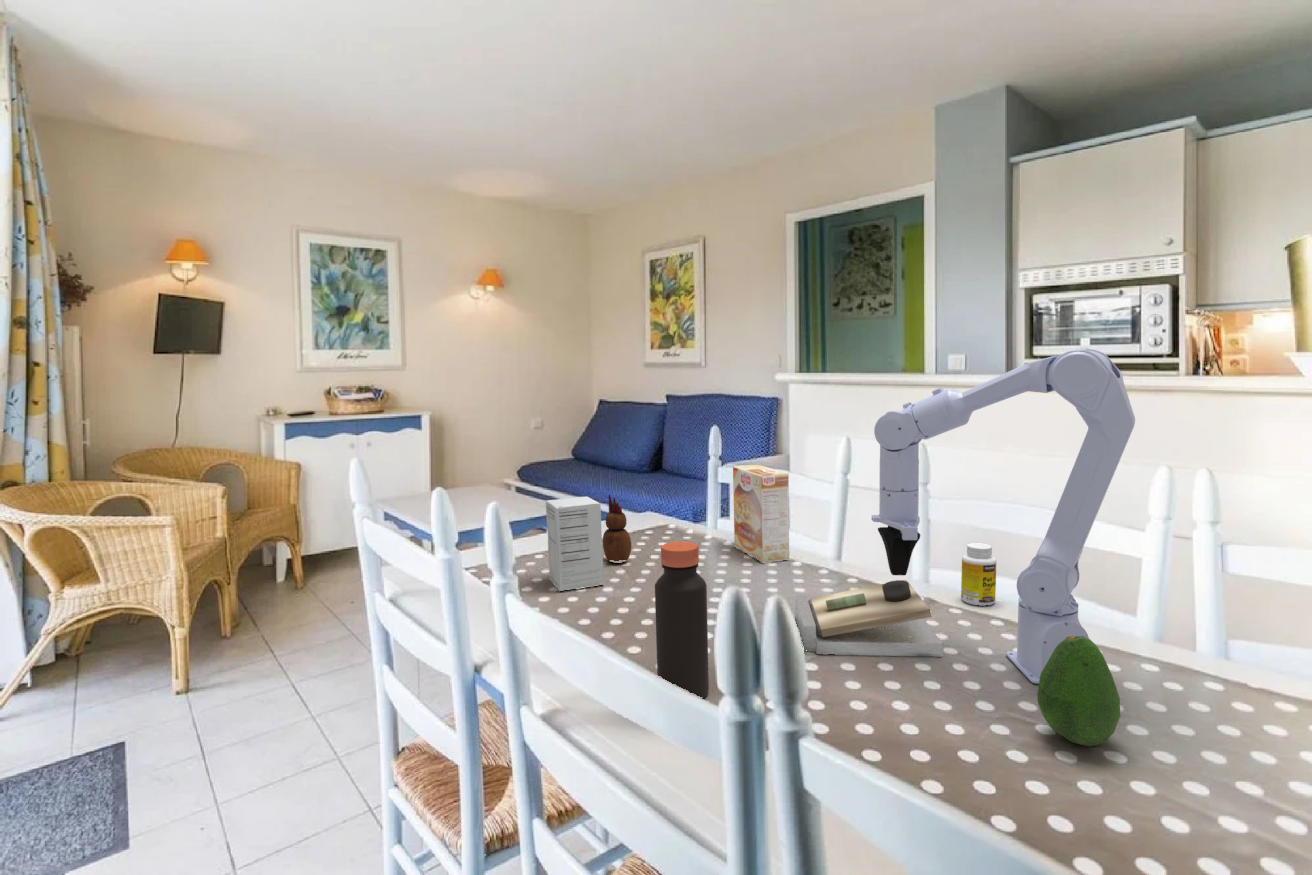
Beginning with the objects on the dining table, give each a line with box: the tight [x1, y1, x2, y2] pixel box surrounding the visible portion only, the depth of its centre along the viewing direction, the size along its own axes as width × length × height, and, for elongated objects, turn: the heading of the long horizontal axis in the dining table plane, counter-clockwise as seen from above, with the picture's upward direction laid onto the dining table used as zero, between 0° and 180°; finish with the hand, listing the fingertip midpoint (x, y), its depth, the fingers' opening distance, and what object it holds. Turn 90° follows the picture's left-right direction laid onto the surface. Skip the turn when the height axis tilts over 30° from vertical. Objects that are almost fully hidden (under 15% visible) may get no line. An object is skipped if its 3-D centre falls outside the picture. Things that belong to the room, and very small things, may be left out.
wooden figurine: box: [602, 494, 632, 561], centre depth 154 cm, size 7×6×15 cm
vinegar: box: [654, 541, 710, 699], centre depth 91 cm, size 7×7×20 cm
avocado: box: [1036, 636, 1121, 747], centre depth 78 cm, size 8×8×12 cm
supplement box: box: [545, 496, 605, 591], centre depth 140 cm, size 10×9×17 cm
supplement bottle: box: [960, 542, 997, 607], centre depth 123 cm, size 6×6×10 cm
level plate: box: [808, 579, 932, 637], centre depth 109 cm, size 14×17×3 cm
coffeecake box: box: [732, 464, 790, 563], centre depth 157 cm, size 15×7×20 cm, turn 17°
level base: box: [794, 594, 944, 658], centre depth 110 cm, size 16×20×4 cm
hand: (898, 574), depth 108 cm, fingers closed
